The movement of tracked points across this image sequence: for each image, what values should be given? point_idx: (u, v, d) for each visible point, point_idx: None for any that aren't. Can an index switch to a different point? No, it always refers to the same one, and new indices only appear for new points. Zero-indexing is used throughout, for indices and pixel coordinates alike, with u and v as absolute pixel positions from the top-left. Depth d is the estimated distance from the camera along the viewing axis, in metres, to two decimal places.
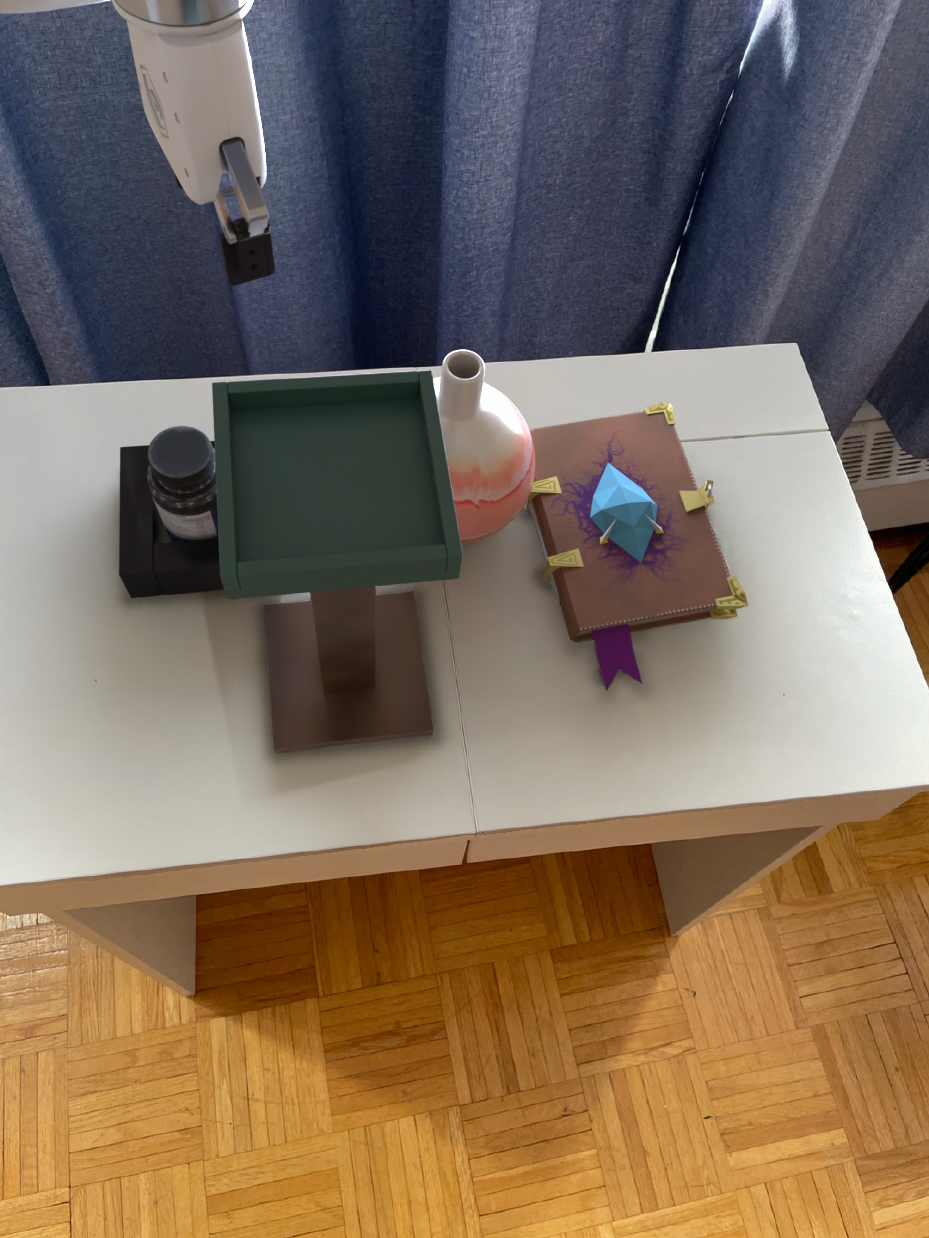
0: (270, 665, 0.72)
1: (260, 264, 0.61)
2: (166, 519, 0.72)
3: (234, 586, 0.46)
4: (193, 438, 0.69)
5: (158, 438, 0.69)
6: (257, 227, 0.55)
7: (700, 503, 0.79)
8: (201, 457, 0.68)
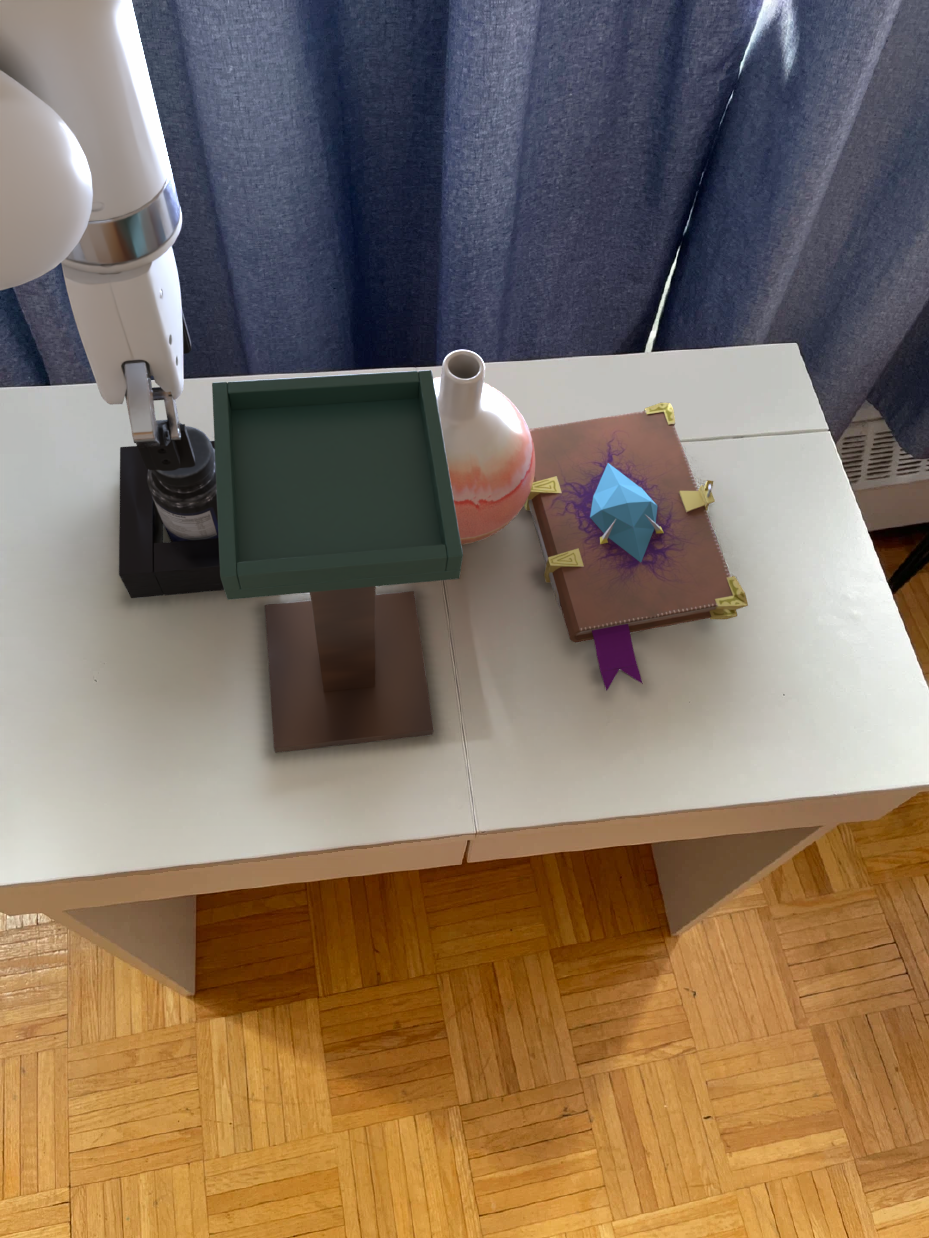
0: (270, 665, 0.72)
1: (173, 460, 0.60)
2: (166, 519, 0.72)
3: (234, 586, 0.46)
4: (193, 438, 0.69)
5: None
6: (147, 444, 0.55)
7: (700, 503, 0.79)
8: (201, 457, 0.68)
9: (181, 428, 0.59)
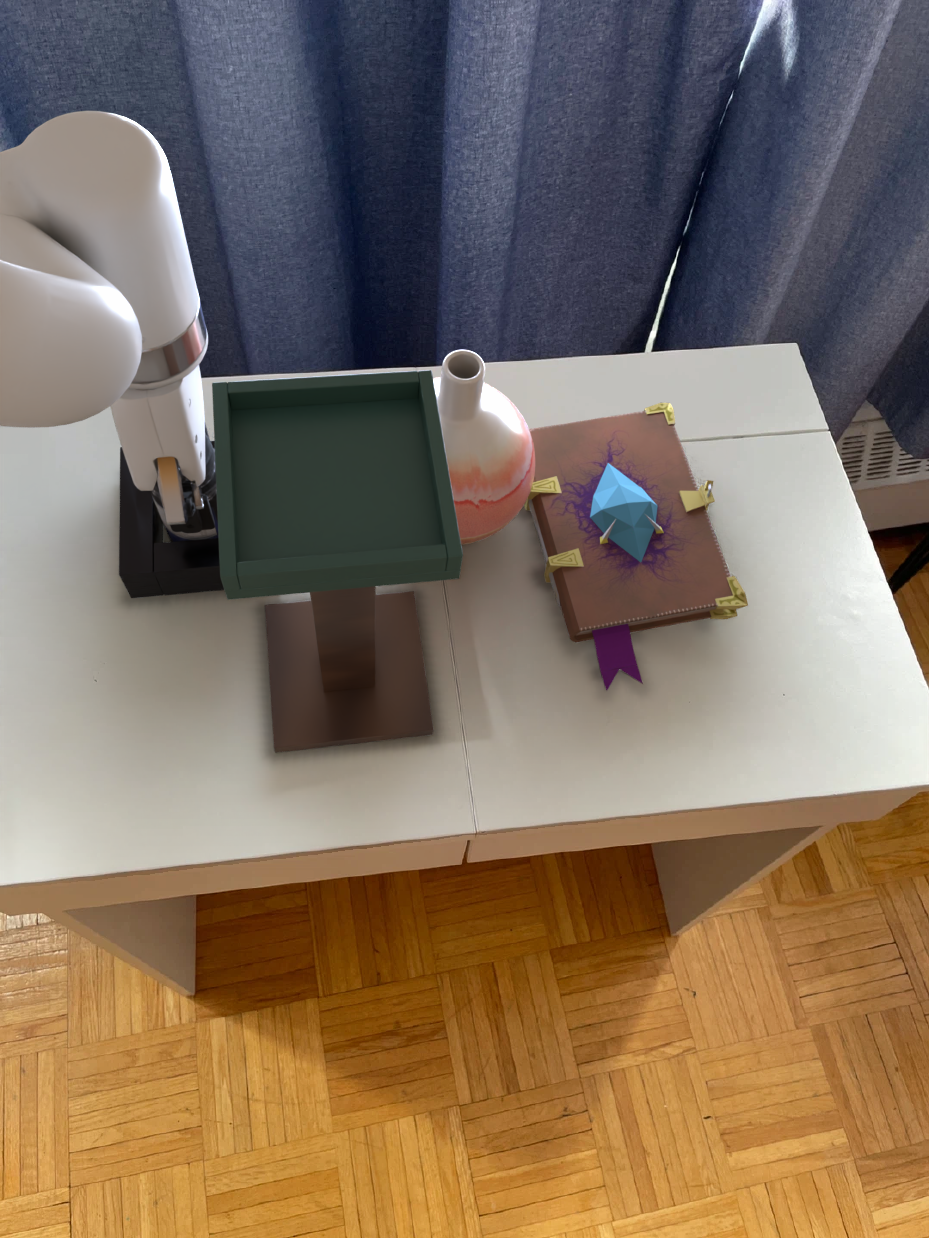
0: (270, 665, 0.72)
1: (196, 525, 0.70)
2: None
3: (234, 586, 0.46)
4: None
5: None
6: None
7: (700, 503, 0.79)
8: None
9: (204, 498, 0.68)
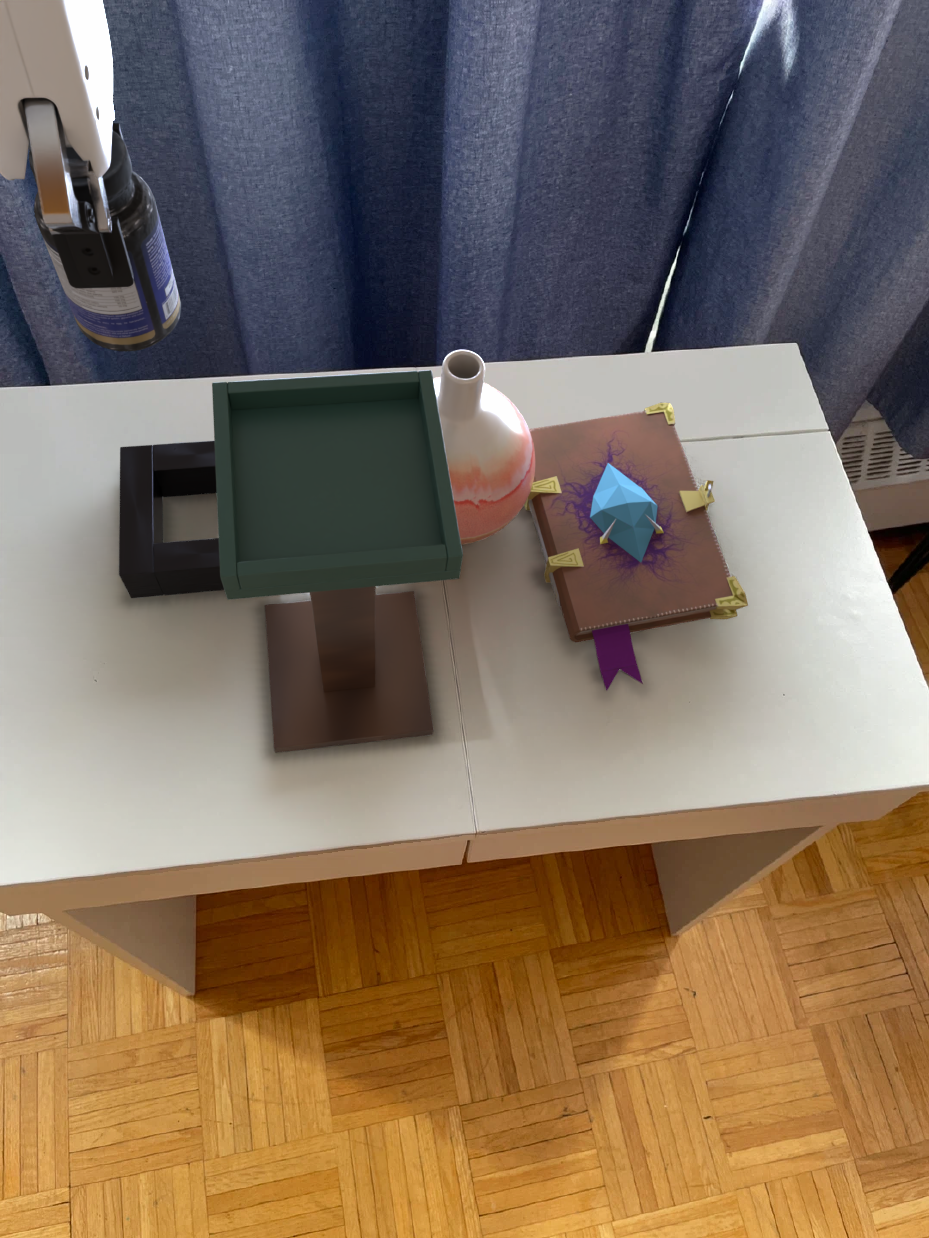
0: (270, 665, 0.72)
1: (103, 269, 0.47)
2: (65, 276, 0.50)
3: (234, 586, 0.46)
4: None
5: None
6: (65, 228, 0.42)
7: (700, 503, 0.79)
8: None
9: (113, 221, 0.46)
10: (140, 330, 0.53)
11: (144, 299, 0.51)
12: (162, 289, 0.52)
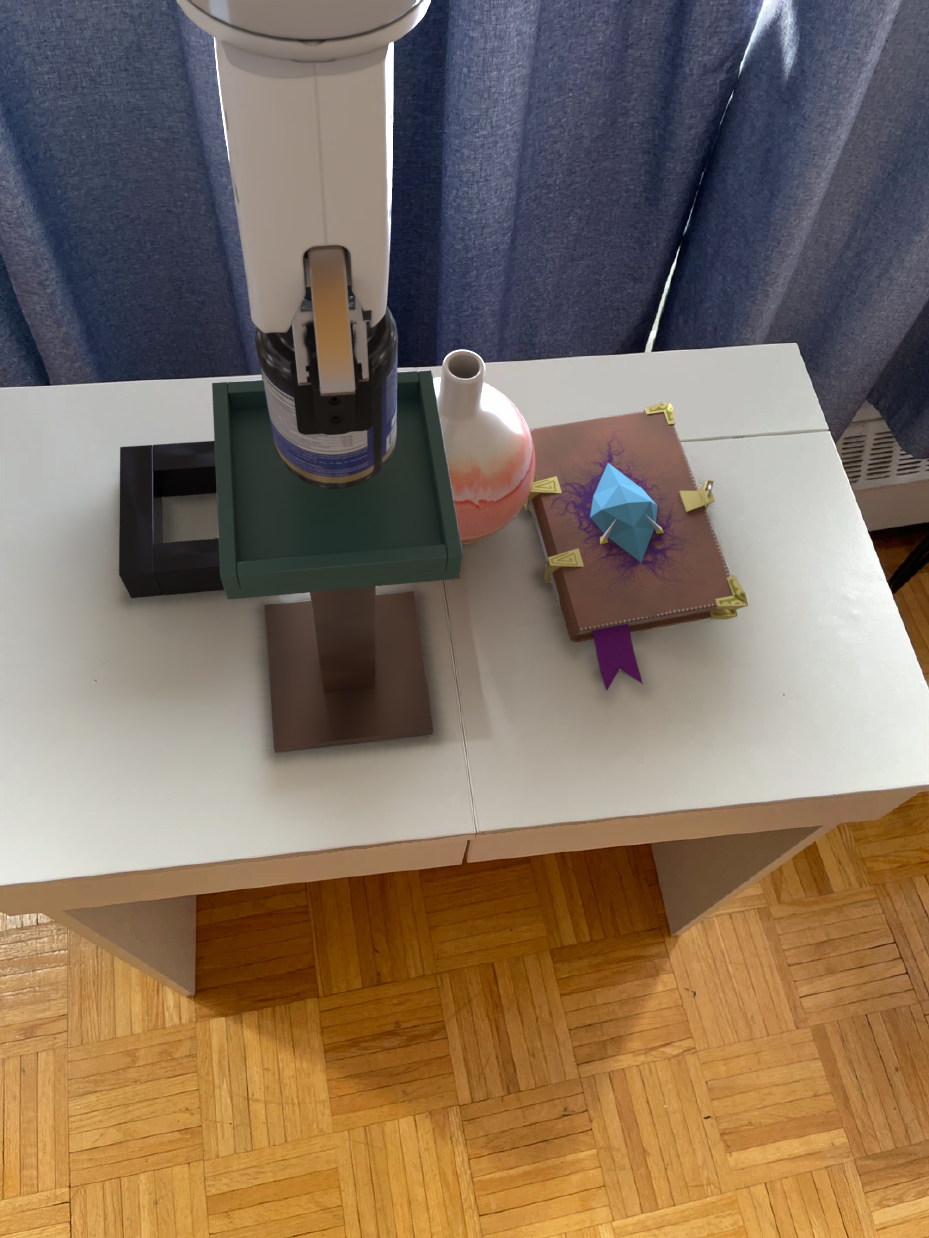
0: (270, 665, 0.72)
1: (346, 418, 0.39)
2: (285, 415, 0.41)
3: (234, 586, 0.46)
4: None
5: None
6: None
7: (700, 503, 0.79)
8: None
9: None
10: (359, 467, 0.45)
11: (372, 435, 0.43)
12: (389, 422, 0.44)
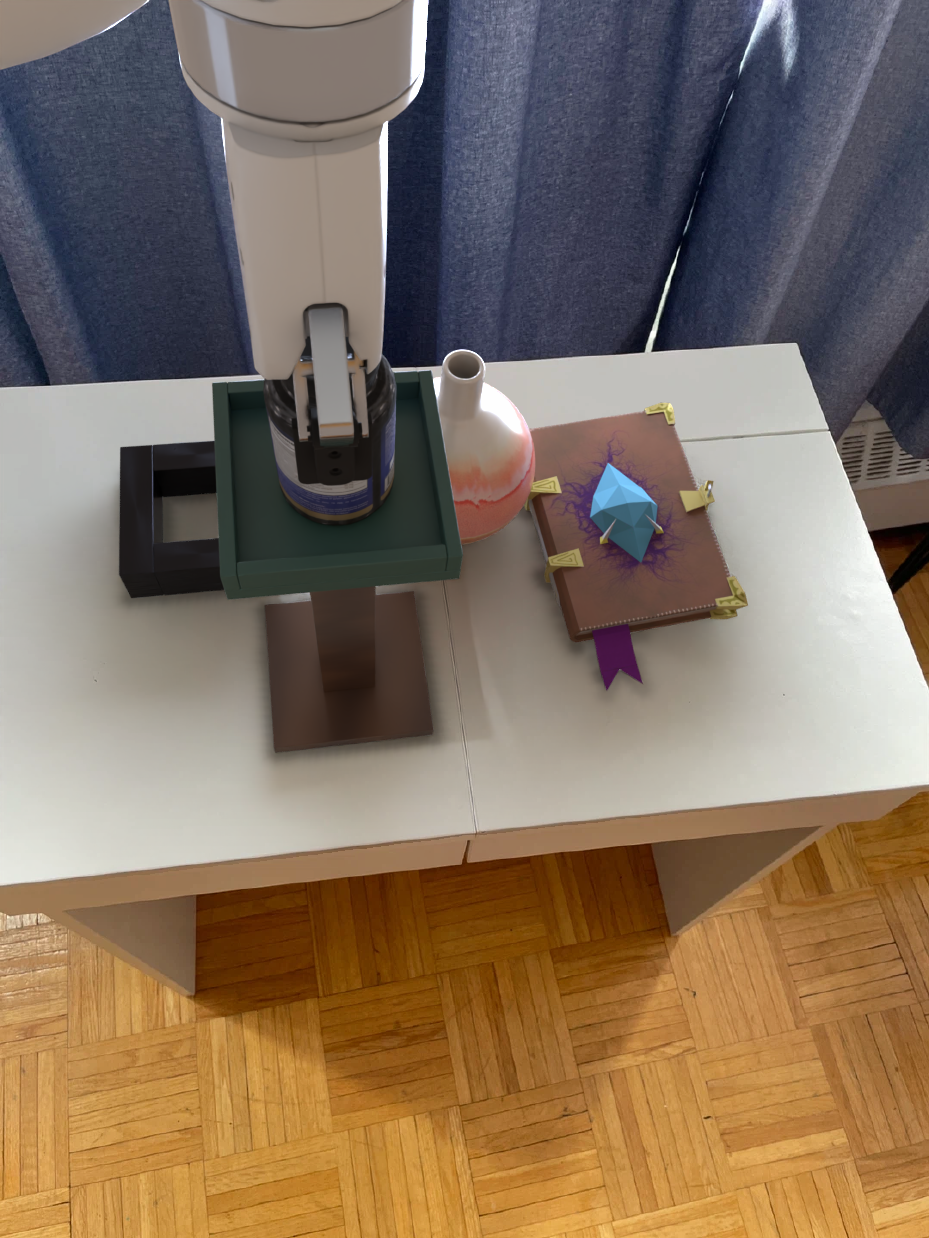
0: (270, 665, 0.72)
1: (346, 470, 0.39)
2: (291, 459, 0.44)
3: (234, 586, 0.46)
4: None
5: None
6: (335, 443, 0.34)
7: (700, 503, 0.79)
8: None
9: None
10: (359, 506, 0.47)
11: (371, 478, 0.46)
12: (388, 464, 0.47)
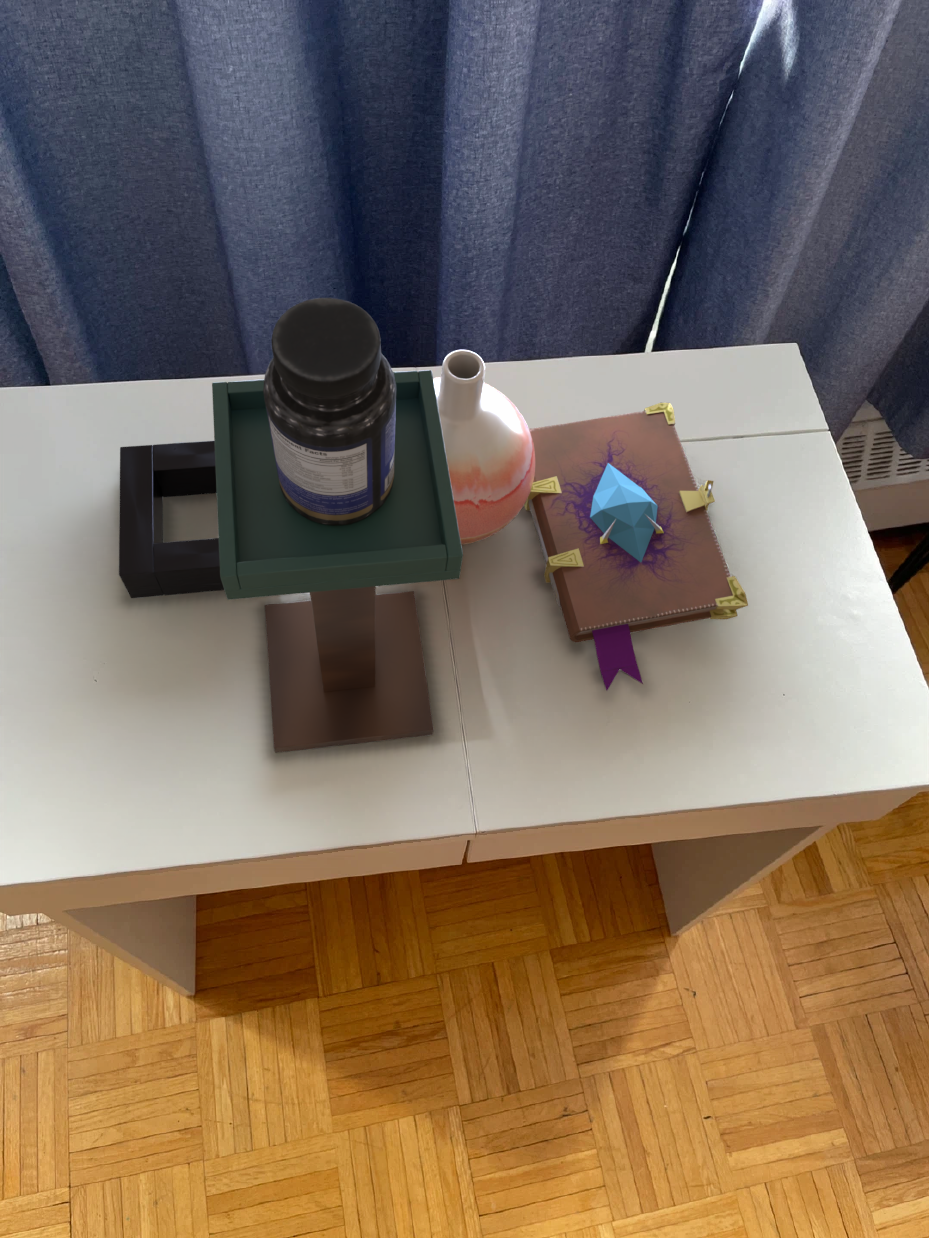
0: (270, 665, 0.72)
1: None
2: (291, 459, 0.44)
3: (234, 586, 0.46)
4: (347, 317, 0.41)
5: (288, 317, 0.41)
6: None
7: (700, 503, 0.79)
8: (362, 348, 0.40)
9: None
10: (359, 506, 0.47)
11: (371, 478, 0.46)
12: (387, 464, 0.47)
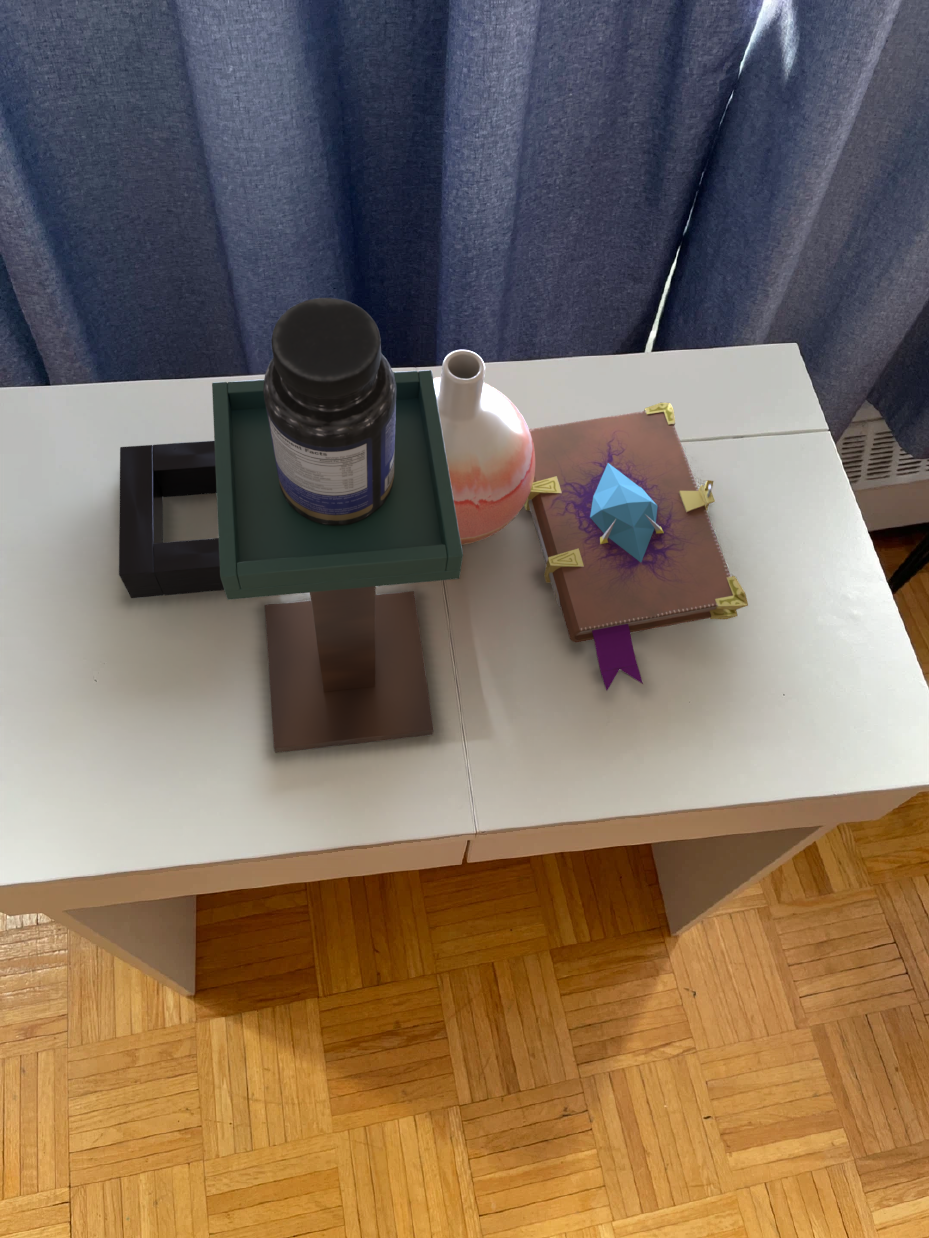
0: (270, 665, 0.72)
1: None
2: (291, 460, 0.44)
3: (234, 586, 0.46)
4: (347, 317, 0.41)
5: (288, 317, 0.41)
6: None
7: (700, 503, 0.79)
8: (362, 348, 0.40)
9: None
10: (359, 506, 0.47)
11: (371, 478, 0.46)
12: (388, 464, 0.47)
